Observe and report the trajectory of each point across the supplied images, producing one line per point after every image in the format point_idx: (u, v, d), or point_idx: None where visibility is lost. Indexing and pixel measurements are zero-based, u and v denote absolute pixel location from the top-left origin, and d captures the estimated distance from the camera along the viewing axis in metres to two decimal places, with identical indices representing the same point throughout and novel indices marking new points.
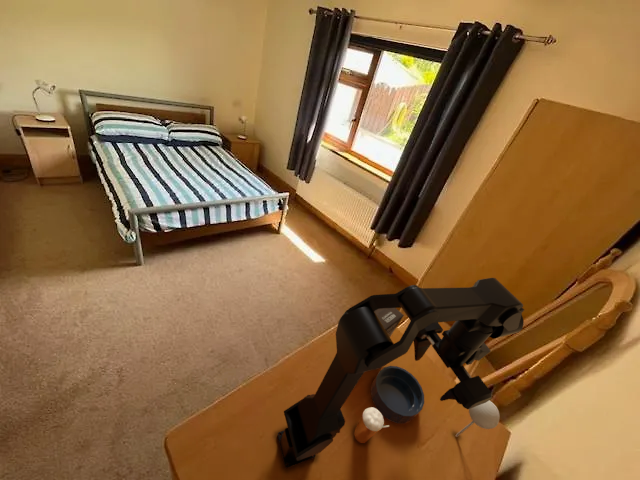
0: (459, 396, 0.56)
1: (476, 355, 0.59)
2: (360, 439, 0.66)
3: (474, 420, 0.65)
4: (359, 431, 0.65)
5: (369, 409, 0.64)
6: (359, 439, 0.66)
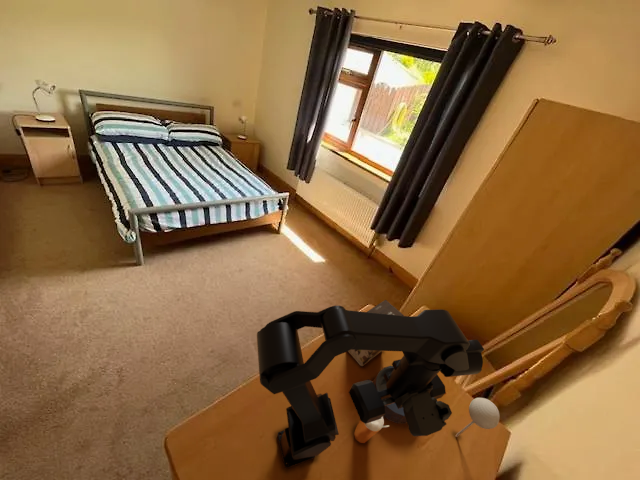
0: None
1: (404, 398, 0.52)
2: (360, 439, 0.66)
3: (474, 420, 0.65)
4: (359, 431, 0.65)
5: None
6: (359, 439, 0.66)
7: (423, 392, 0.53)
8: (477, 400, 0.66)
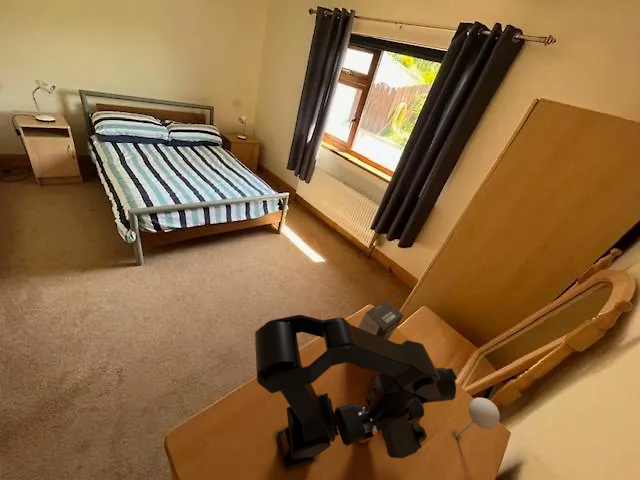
0: None
1: (382, 422, 0.56)
2: None
3: (474, 420, 0.65)
4: None
5: None
6: None
7: (401, 416, 0.57)
8: (477, 400, 0.66)
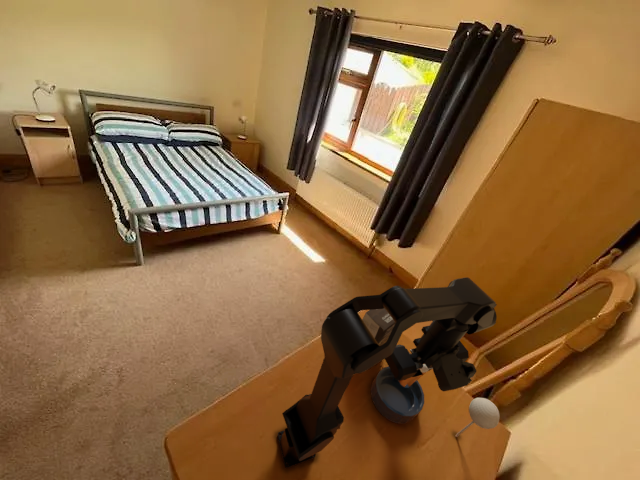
0: None
1: (433, 358, 0.58)
2: (405, 383, 0.68)
3: (474, 420, 0.65)
4: None
5: None
6: (404, 384, 0.69)
7: (450, 353, 0.59)
8: (477, 400, 0.66)
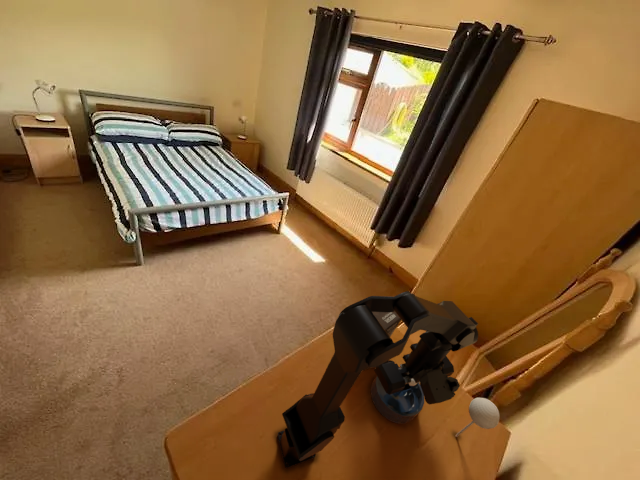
0: None
1: (420, 373, 0.64)
2: (396, 395, 0.74)
3: (474, 420, 0.65)
4: None
5: None
6: (394, 395, 0.74)
7: (436, 369, 0.64)
8: (477, 400, 0.66)
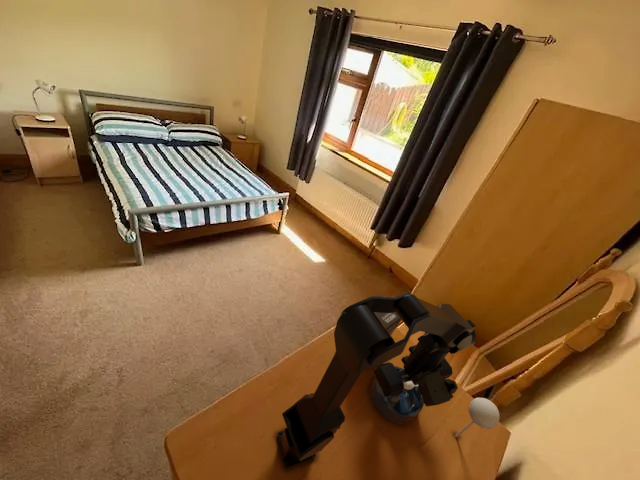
0: None
1: (419, 375, 0.64)
2: (393, 399, 0.74)
3: (474, 420, 0.65)
4: None
5: None
6: (392, 399, 0.75)
7: (434, 371, 0.65)
8: (477, 400, 0.66)
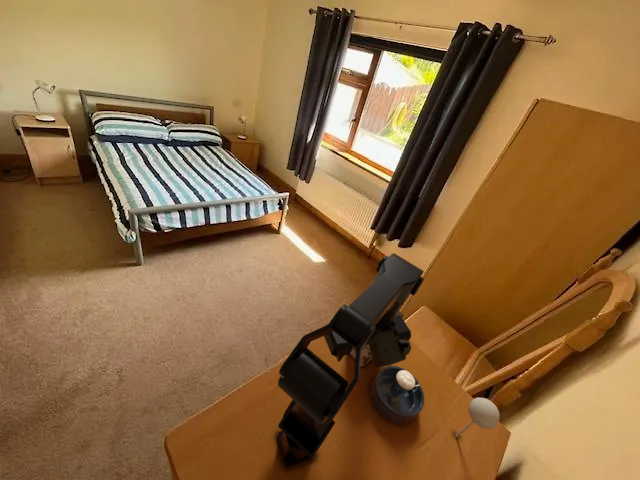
0: None
1: None
2: (393, 399, 0.74)
3: (474, 420, 0.65)
4: (392, 391, 0.74)
5: (402, 371, 0.73)
6: (392, 399, 0.75)
7: (387, 330, 0.59)
8: (477, 400, 0.66)
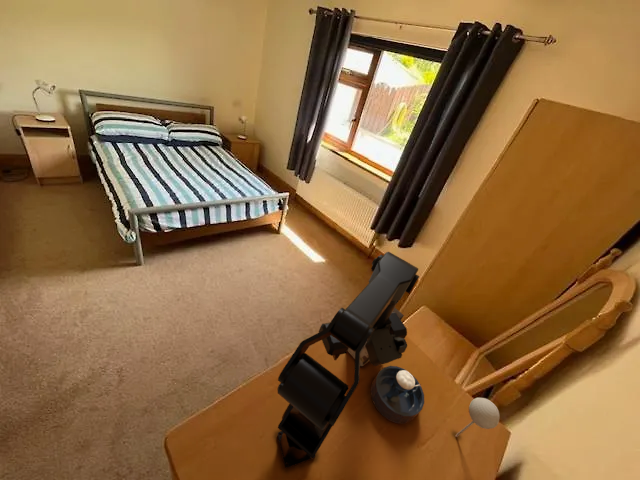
0: None
1: None
2: (393, 399, 0.74)
3: (474, 420, 0.65)
4: (392, 391, 0.74)
5: (402, 371, 0.73)
6: (392, 399, 0.75)
7: (382, 328, 0.59)
8: (477, 400, 0.66)
